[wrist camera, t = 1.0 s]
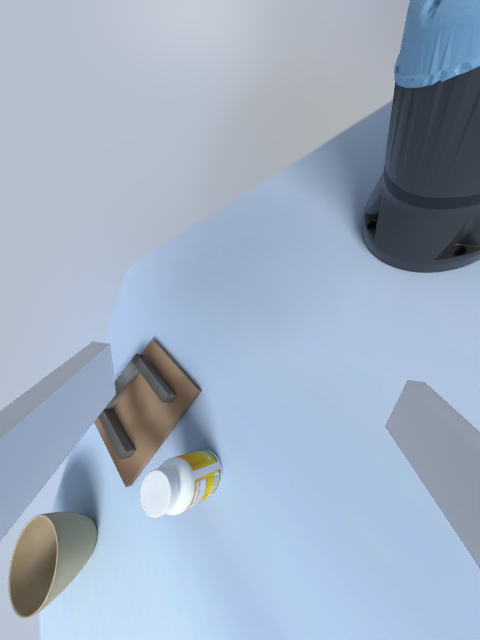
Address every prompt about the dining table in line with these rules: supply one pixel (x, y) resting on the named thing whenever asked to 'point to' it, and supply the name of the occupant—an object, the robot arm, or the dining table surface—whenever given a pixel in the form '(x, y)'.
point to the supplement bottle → (180, 483)
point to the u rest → (144, 409)
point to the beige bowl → (48, 559)
